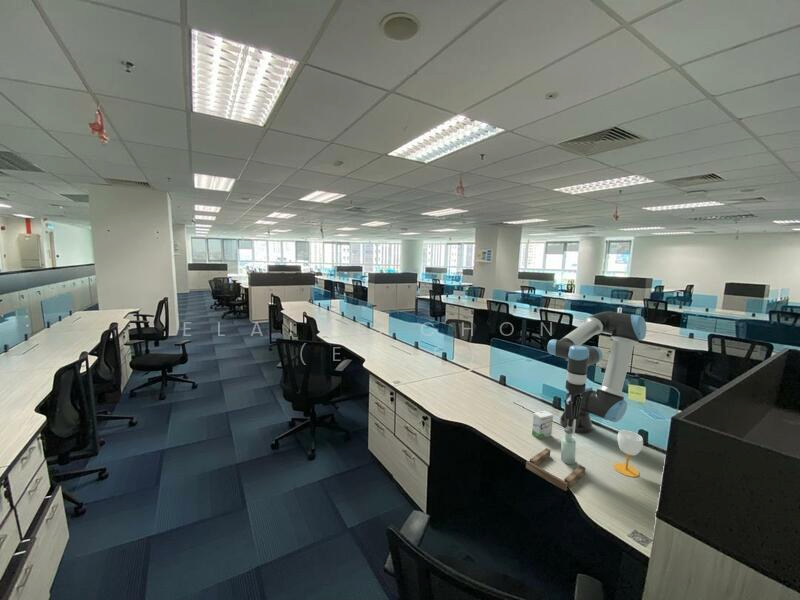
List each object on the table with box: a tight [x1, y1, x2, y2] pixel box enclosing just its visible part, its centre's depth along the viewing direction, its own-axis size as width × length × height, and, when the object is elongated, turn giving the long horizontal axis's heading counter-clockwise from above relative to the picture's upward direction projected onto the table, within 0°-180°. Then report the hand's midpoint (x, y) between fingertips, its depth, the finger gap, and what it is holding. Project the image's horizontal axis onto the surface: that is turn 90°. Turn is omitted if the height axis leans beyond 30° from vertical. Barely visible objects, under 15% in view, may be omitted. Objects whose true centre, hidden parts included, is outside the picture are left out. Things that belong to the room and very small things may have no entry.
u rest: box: [525, 447, 586, 492], centre depth 137 cm, size 17×17×3 cm
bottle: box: [560, 427, 577, 465], centre depth 142 cm, size 6×6×16 cm
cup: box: [613, 429, 644, 478], centre depth 137 cm, size 9×9×16 cm
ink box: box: [531, 410, 554, 440], centre depth 163 cm, size 8×5×12 cm, turn 111°
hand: (570, 432), depth 142 cm, fingers closed
